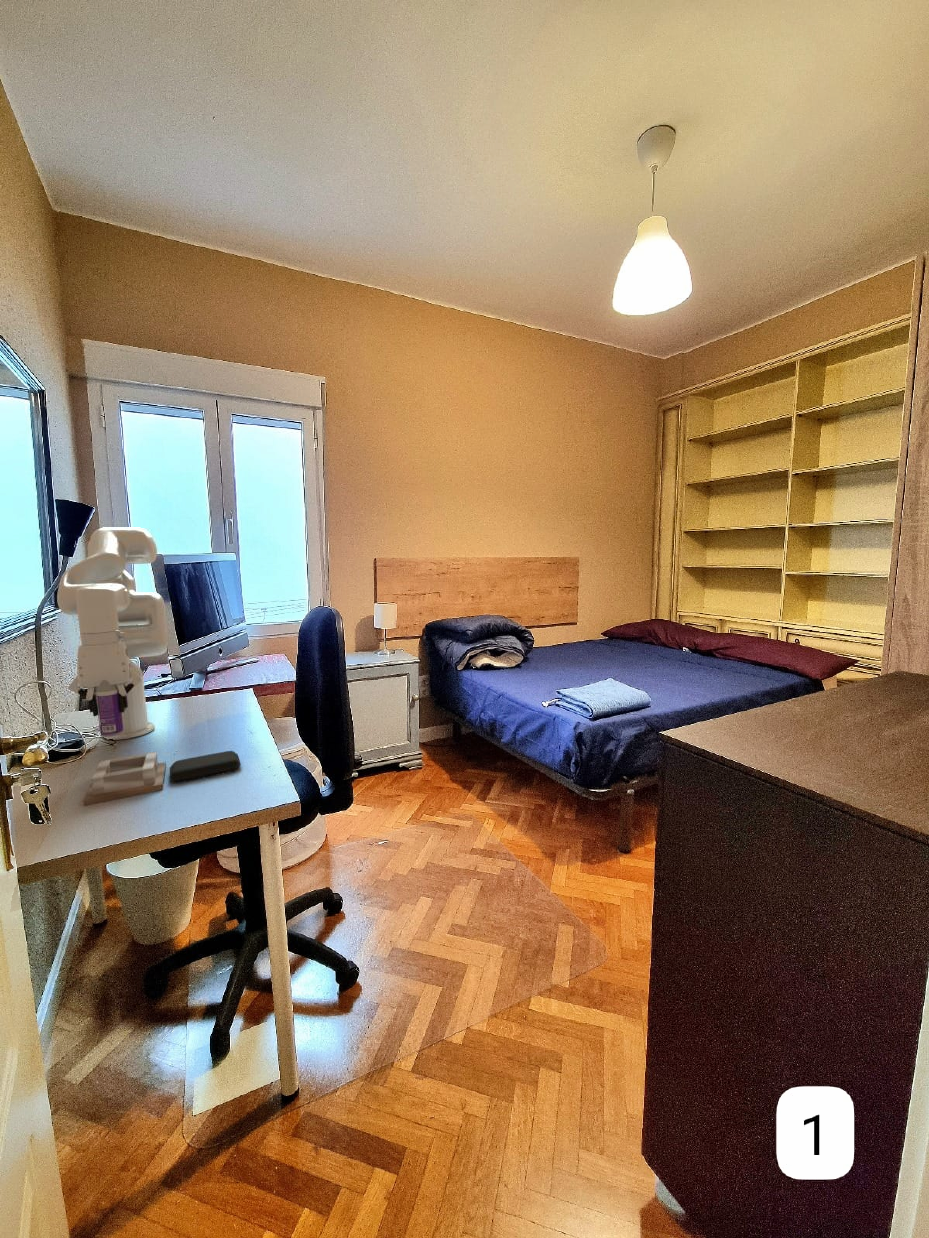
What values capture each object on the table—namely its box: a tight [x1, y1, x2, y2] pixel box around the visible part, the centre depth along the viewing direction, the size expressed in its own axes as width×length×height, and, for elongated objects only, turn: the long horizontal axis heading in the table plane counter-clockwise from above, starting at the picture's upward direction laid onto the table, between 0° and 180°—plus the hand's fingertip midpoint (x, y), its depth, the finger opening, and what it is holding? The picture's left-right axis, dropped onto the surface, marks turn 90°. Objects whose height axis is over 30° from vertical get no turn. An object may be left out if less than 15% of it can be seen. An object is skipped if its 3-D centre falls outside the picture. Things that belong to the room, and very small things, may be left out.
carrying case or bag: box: [168, 750, 241, 784], centre depth 120 cm, size 11×3×15 cm
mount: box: [82, 751, 167, 806], centre depth 112 cm, size 14×14×5 cm
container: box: [95, 680, 124, 738], centre depth 121 cm, size 5×5×15 cm
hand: (109, 711), depth 121 cm, fingers closed on container, 4 cm apart
